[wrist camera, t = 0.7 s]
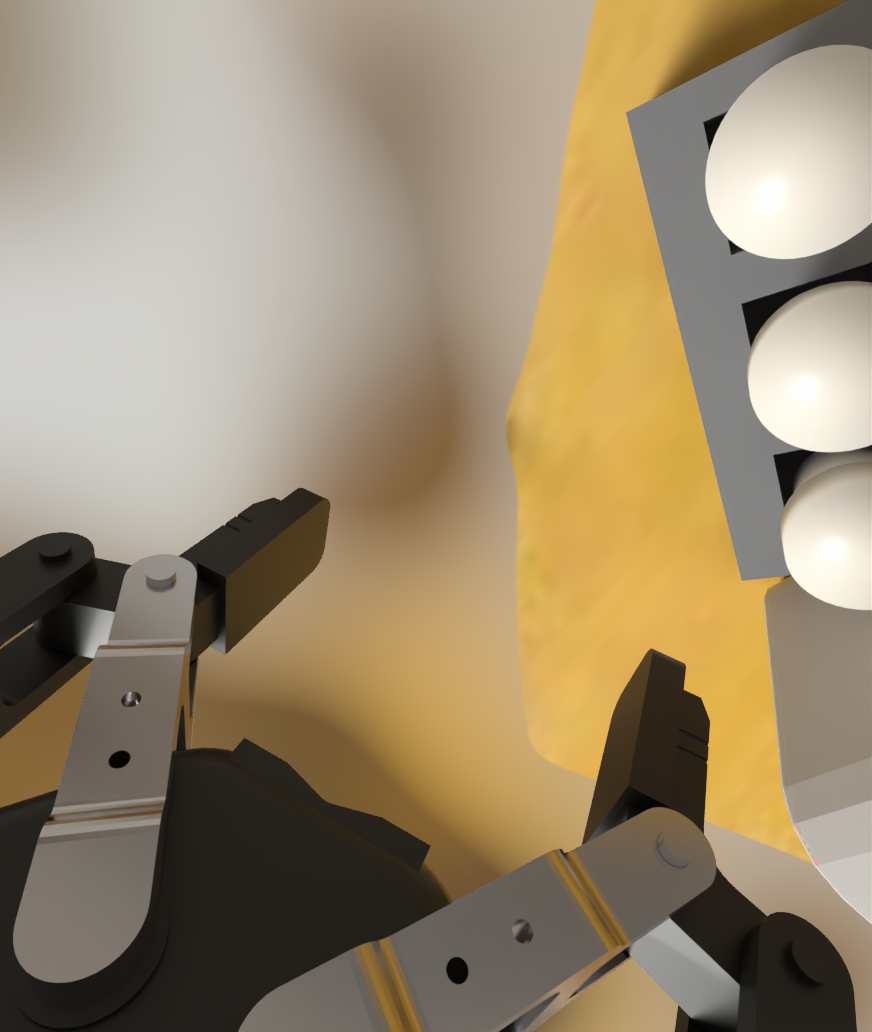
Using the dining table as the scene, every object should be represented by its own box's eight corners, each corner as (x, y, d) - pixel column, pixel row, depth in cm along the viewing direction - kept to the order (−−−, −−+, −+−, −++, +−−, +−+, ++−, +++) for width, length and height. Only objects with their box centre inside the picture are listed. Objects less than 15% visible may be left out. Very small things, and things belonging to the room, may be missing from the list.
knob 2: (890, 243, 23) (935, 263, 18) (907, 380, 25) (952, 431, 20) (731, 295, 26) (734, 324, 21) (757, 415, 28) (765, 467, 23)
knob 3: (911, 411, 25) (956, 468, 21) (925, 525, 27) (969, 602, 23) (762, 442, 28) (772, 499, 23) (784, 544, 30) (797, 615, 25)
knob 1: (865, 37, 21) (908, -1, 16) (885, 205, 23) (930, 215, 18) (693, 119, 24) (687, 107, 19) (724, 262, 26) (725, 284, 21)
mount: (911, -14, 23) (952, -53, 19) (961, 500, 30) (999, 552, 26) (639, 120, 28) (626, 112, 24) (739, 532, 35) (741, 580, 31)
